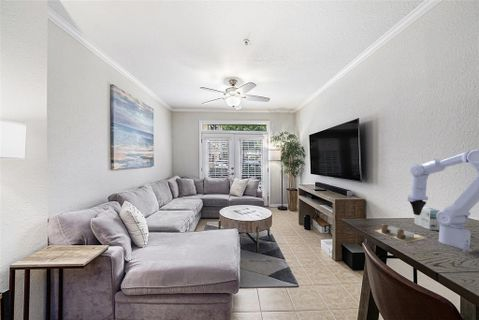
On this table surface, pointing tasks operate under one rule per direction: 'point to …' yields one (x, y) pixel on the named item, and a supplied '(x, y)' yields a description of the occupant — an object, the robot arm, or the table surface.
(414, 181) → the robot arm
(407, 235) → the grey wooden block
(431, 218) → the light bulb box
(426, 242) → the table surface
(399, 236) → the board
